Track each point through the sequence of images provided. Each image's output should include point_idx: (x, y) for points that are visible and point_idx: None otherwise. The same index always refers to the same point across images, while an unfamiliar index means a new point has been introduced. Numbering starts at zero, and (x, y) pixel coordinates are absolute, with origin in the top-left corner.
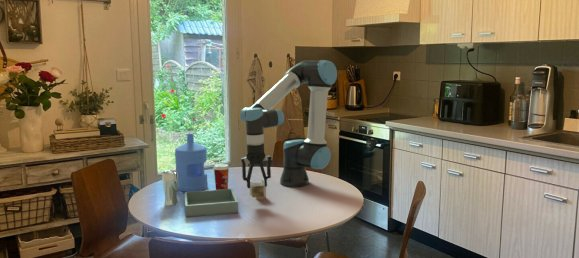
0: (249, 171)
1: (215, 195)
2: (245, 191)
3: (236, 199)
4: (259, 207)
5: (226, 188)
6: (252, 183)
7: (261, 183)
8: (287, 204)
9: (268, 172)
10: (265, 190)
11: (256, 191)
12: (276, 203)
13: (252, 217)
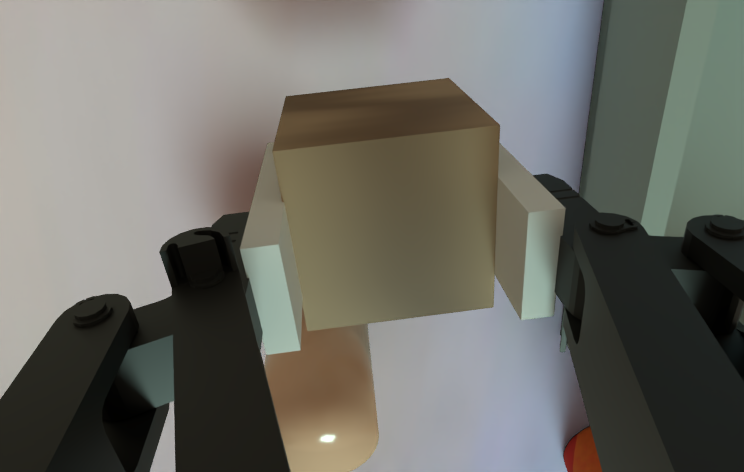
0: (738, 388)
1: None
2: (429, 466)
3: (692, 13)
4: (346, 71)
5: (598, 469)
6: (464, 298)
7: (310, 277)
8: (25, 128)
9: (62, 407)
10: (266, 368)
11: (404, 107)
12: (158, 175)
13: None
